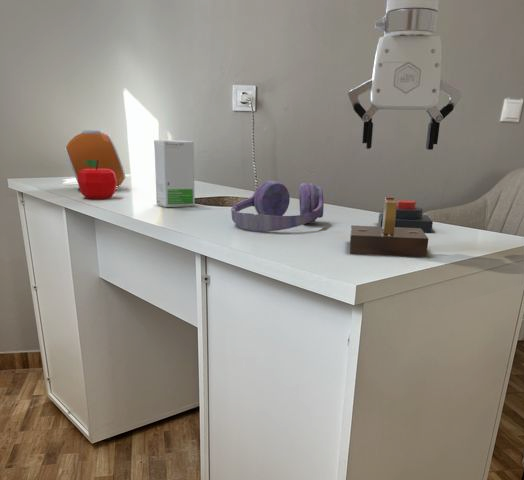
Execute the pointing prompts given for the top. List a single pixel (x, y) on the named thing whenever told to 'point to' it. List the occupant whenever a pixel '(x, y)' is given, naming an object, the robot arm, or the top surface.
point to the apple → (96, 181)
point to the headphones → (278, 207)
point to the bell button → (406, 205)
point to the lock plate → (388, 241)
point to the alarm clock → (94, 153)
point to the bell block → (410, 219)
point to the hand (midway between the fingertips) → (398, 148)
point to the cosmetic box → (174, 173)
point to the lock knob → (389, 215)
